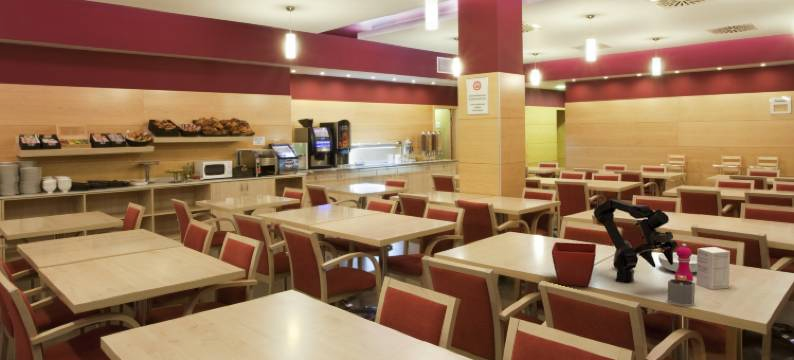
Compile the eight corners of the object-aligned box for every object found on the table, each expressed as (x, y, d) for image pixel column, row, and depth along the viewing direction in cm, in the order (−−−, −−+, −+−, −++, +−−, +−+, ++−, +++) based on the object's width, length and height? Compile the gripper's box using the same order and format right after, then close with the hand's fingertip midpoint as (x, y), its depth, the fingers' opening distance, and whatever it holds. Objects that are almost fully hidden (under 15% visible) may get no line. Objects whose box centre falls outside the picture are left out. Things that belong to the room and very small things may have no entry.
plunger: (668, 295, 219) (669, 276, 218) (674, 291, 224) (674, 272, 223) (688, 298, 214) (688, 279, 213) (693, 294, 219) (693, 275, 218)
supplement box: (714, 282, 245) (715, 246, 243) (729, 288, 235) (731, 251, 234) (695, 283, 243) (696, 247, 241) (710, 289, 234) (712, 252, 232)
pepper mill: (696, 289, 234) (696, 245, 232) (678, 289, 235) (679, 245, 233) (688, 284, 241) (688, 241, 240) (672, 284, 242) (672, 242, 240)
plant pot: (551, 286, 245) (551, 250, 243) (554, 275, 263) (555, 241, 261) (595, 290, 238) (595, 253, 236) (596, 278, 256) (596, 244, 254)
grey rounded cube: (664, 302, 219) (664, 282, 218) (671, 296, 226) (672, 277, 225) (690, 307, 212) (691, 287, 211) (697, 301, 219) (698, 281, 218)
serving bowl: (659, 274, 259) (660, 261, 258) (656, 264, 278) (656, 251, 277) (708, 278, 251) (709, 264, 250) (701, 267, 270) (702, 253, 270)
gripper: (643, 227, 224) (658, 262, 218) (679, 223, 230) (694, 257, 224) (627, 236, 234) (641, 270, 228) (662, 232, 240) (675, 265, 233)
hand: (663, 266), depth 228 cm, fingers open, 9 cm apart
